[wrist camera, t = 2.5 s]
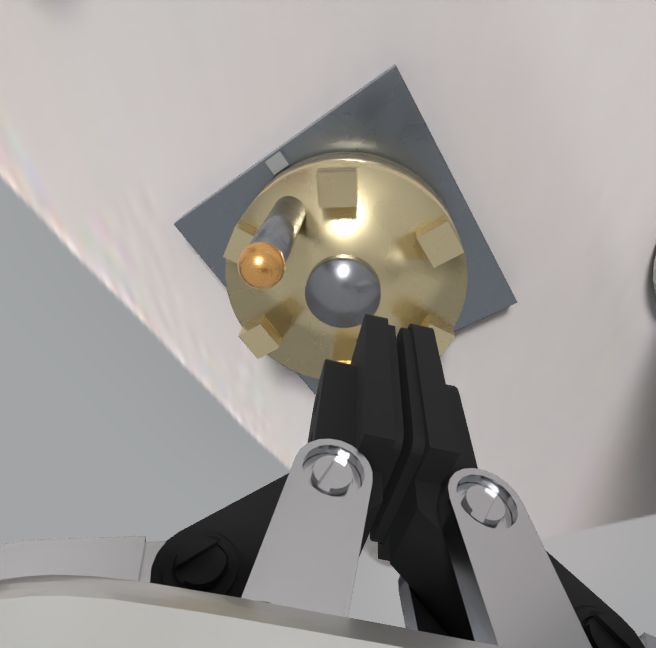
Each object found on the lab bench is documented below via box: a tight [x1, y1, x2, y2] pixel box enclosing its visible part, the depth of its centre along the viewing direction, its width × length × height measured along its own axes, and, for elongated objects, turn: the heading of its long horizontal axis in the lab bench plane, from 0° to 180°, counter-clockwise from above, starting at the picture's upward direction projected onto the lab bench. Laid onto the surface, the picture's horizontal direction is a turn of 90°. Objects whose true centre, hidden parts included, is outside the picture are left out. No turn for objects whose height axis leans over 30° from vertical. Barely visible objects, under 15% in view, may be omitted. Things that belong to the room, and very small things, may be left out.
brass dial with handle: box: [223, 152, 467, 380], centre depth 23 cm, size 13×13×10 cm
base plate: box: [174, 65, 517, 394], centre depth 28 cm, size 15×15×2 cm
